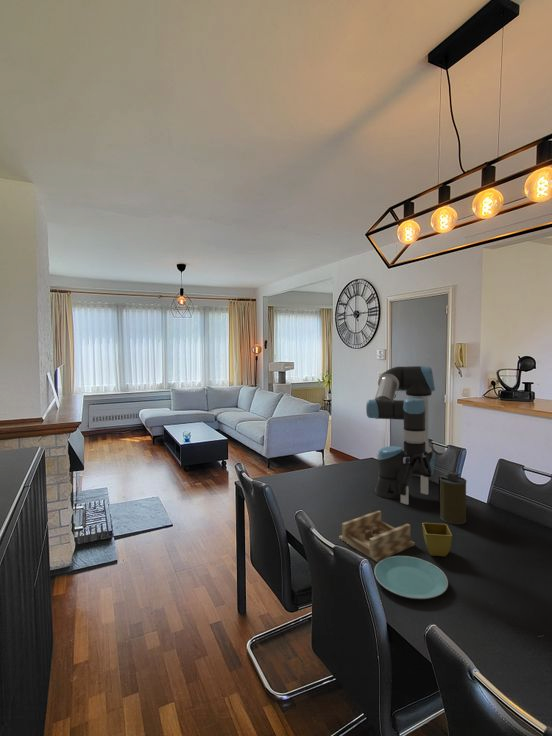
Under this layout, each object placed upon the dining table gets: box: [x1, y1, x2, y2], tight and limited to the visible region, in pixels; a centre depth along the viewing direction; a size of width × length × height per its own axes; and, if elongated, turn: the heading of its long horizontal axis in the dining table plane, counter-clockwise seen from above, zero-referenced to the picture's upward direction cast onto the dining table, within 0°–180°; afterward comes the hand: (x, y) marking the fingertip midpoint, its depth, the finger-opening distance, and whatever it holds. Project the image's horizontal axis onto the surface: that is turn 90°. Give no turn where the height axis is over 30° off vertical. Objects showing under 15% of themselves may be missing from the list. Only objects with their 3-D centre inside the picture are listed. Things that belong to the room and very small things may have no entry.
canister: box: [438, 471, 467, 525], centre depth 166 cm, size 11×10×20 cm
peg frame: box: [338, 510, 416, 563], centre depth 149 cm, size 20×20×7 cm
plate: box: [373, 555, 449, 600], centre depth 123 cm, size 22×22×3 cm
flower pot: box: [421, 522, 453, 557], centre depth 140 cm, size 9×9×9 cm
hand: (414, 498), depth 142 cm, fingers open, 13 cm apart
